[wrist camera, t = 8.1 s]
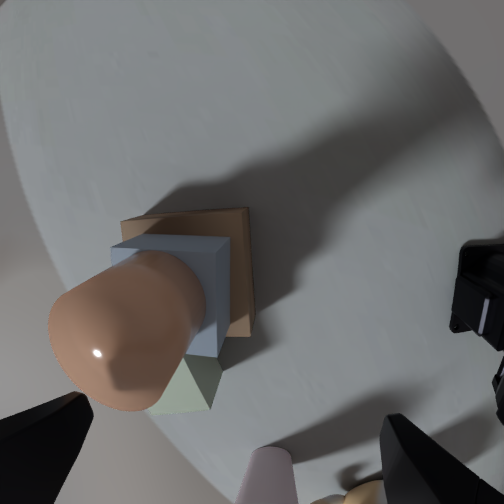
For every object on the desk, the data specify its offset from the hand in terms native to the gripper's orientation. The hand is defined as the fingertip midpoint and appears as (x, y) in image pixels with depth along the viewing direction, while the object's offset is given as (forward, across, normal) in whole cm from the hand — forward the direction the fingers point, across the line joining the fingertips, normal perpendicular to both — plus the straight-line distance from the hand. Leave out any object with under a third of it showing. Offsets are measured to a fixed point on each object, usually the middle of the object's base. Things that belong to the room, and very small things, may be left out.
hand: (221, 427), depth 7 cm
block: (+13, +6, +5) cm, 15 cm away
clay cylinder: (+6, +4, -1) cm, 7 cm away
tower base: (+13, +4, -1) cm, 14 cm away
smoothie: (+13, 0, +17) cm, 22 cm away
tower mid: (+9, +4, -1) cm, 10 cm away
